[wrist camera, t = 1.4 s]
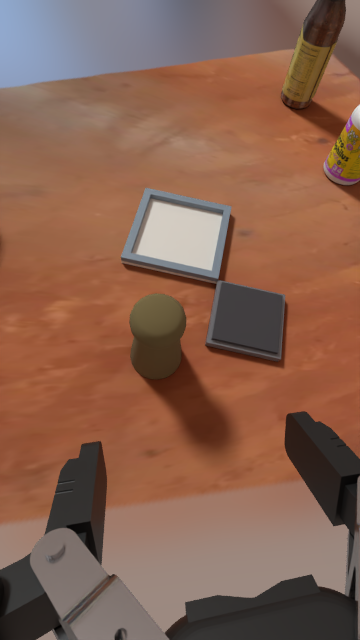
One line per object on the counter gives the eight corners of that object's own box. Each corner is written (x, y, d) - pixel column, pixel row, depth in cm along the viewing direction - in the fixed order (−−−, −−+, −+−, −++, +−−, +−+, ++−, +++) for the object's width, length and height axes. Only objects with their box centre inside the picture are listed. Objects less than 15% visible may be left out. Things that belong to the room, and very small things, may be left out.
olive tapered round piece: (192, 356, 38) (207, 316, 28) (153, 390, 36) (155, 359, 26) (158, 321, 39) (161, 271, 30) (119, 352, 37) (109, 309, 27)
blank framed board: (121, 262, 43) (120, 257, 42) (145, 194, 48) (145, 187, 47) (216, 283, 43) (218, 278, 41) (229, 213, 48) (231, 206, 47)
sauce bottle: (296, 88, 64) (353, -59, 46) (316, 106, 62) (383, -41, 44) (271, 95, 62) (320, -55, 45) (290, 114, 60) (350, -36, 43)
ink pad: (205, 345, 39) (207, 340, 37) (216, 283, 43) (218, 277, 41) (277, 361, 39) (282, 357, 37) (282, 298, 42) (286, 292, 41)
